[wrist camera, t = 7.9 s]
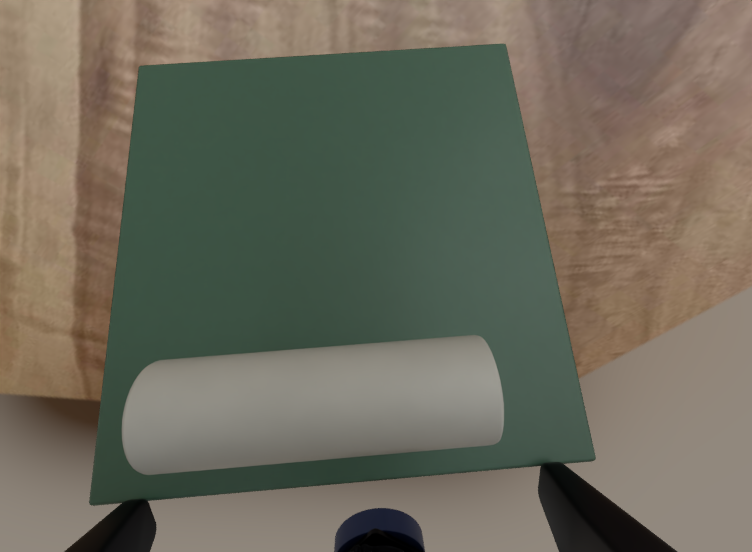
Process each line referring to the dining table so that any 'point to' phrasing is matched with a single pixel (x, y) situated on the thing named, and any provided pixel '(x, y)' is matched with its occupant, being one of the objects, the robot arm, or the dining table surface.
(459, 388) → the lid
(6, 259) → the dining table surface
